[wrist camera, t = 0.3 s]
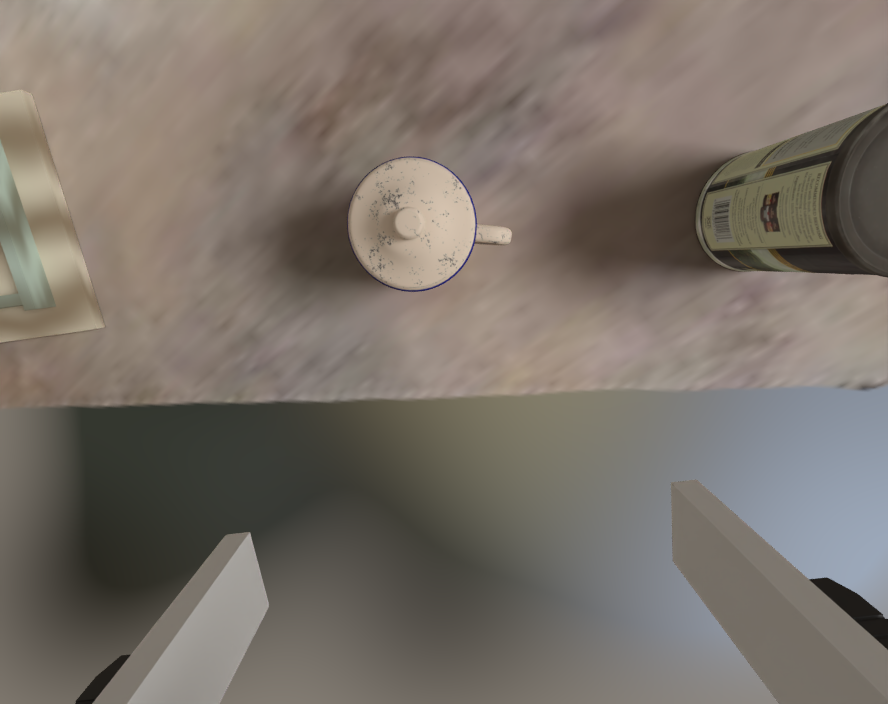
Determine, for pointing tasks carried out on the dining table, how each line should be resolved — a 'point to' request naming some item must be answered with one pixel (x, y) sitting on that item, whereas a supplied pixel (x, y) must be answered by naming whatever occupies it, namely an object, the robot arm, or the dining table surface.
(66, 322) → the board
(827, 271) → the coffee can
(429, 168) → the teacup with lid
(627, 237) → the dining table surface
